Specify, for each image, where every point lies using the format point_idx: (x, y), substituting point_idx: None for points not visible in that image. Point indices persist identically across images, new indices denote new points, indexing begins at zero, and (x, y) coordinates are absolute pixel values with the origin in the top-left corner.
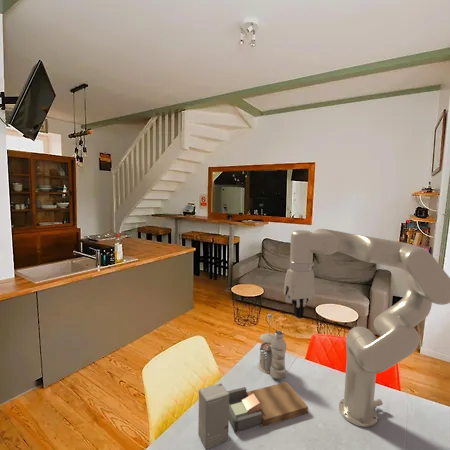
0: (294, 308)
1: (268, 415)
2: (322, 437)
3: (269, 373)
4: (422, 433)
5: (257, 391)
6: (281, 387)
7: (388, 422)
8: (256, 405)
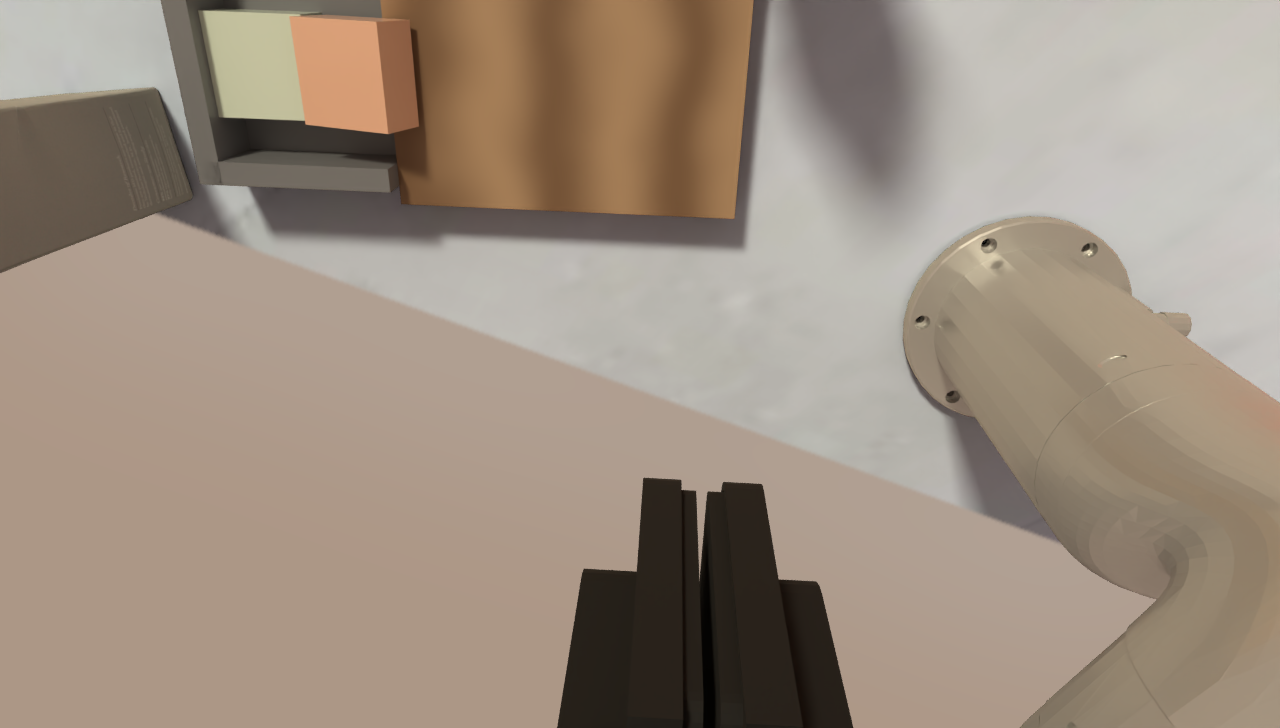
0: (563, 709)
1: (446, 185)
2: (690, 364)
3: None
4: None
5: None
6: None
7: None
8: (367, 131)
